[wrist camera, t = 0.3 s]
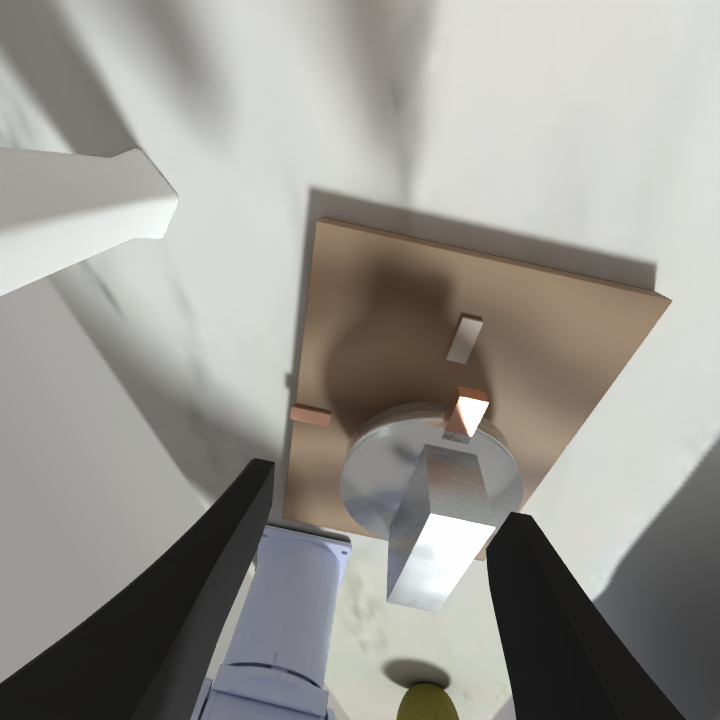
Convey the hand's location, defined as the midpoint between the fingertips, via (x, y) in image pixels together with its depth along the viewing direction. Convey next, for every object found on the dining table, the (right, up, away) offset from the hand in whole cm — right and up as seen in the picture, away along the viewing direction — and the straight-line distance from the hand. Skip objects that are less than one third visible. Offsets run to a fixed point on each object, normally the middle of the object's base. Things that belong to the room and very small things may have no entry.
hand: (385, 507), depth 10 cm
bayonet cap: (+3, -1, +8) cm, 9 cm away
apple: (+8, -38, +34) cm, 52 cm away
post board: (+3, 0, +11) cm, 12 cm away
